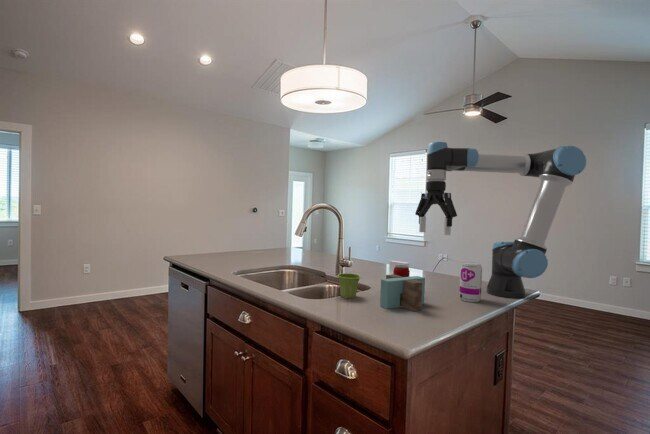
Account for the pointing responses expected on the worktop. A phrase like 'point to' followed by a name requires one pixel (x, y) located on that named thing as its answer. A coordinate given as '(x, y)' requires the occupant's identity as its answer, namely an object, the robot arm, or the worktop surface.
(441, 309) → the worktop surface
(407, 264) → the cylinder with rectangular tab
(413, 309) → the brown wooden notched block
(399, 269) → the beverage can
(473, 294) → the supplement can
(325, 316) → the worktop surface
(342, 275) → the plant pot
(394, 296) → the teal tunnel brick
